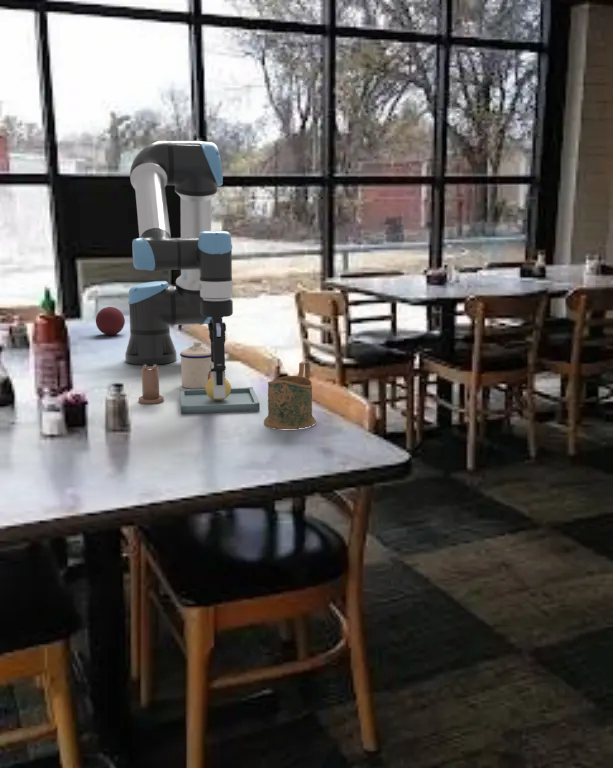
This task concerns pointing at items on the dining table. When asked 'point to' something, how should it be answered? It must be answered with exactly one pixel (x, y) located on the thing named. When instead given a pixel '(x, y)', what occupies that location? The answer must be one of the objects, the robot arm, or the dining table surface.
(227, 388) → the ball
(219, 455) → the dining table surface
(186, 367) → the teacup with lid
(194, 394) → the tray
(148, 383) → the stand cup
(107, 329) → the decorative ball
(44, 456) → the dining table surface
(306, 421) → the brown green vessel
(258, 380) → the dining table surface
